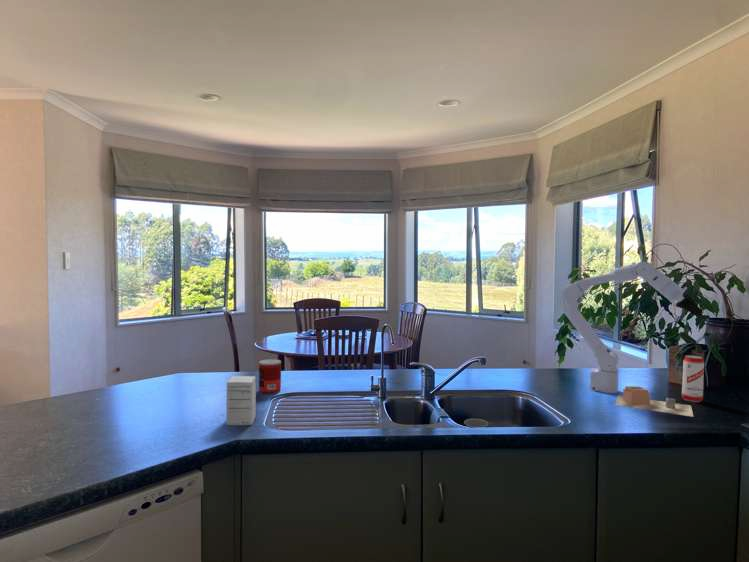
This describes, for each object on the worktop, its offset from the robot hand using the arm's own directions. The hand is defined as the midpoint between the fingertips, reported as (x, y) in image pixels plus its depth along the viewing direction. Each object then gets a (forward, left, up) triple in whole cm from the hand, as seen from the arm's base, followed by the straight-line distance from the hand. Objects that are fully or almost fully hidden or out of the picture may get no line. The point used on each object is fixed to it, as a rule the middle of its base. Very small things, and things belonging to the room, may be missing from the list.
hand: (699, 313), depth 161 cm
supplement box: (-117, -98, -33) cm, 156 cm away
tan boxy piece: (-18, -12, -31) cm, 38 cm away
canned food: (-133, -70, -32) cm, 154 cm away
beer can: (-1, +8, -32) cm, 33 cm away
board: (-13, -12, -32) cm, 37 cm away
